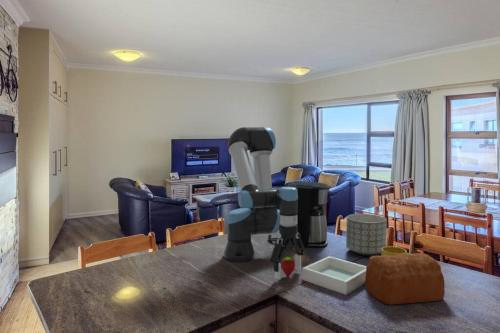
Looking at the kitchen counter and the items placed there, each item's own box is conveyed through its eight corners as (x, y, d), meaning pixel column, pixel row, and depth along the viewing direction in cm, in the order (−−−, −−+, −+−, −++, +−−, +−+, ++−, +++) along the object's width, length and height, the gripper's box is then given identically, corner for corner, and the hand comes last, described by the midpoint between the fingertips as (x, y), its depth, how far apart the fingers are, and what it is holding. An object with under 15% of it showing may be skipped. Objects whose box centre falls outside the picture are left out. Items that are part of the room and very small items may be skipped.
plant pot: (376, 267, 158) (377, 246, 157) (398, 266, 159) (399, 245, 158) (387, 276, 148) (388, 254, 147) (411, 275, 149) (411, 253, 148)
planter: (389, 251, 180) (390, 216, 179) (380, 262, 164) (382, 224, 163) (352, 245, 190) (352, 212, 189) (341, 255, 174) (341, 219, 173)
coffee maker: (335, 246, 188) (336, 184, 185) (277, 251, 181) (277, 186, 178) (318, 235, 210) (319, 179, 207) (266, 238, 203) (266, 181, 200)
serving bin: (302, 279, 145) (302, 268, 145) (329, 266, 159) (329, 256, 159) (346, 295, 131) (346, 282, 130) (370, 279, 145) (371, 267, 145)
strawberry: (294, 273, 152) (294, 251, 151) (296, 280, 144) (296, 257, 143) (280, 273, 152) (280, 251, 151) (281, 280, 144) (281, 257, 143)
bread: (448, 301, 126) (450, 261, 124) (385, 307, 122) (386, 265, 120) (418, 282, 142) (419, 246, 141) (362, 286, 138) (362, 250, 137)
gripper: (275, 232, 134) (275, 285, 136) (313, 220, 152) (312, 268, 154) (261, 228, 140) (261, 280, 141) (299, 218, 157) (298, 264, 159)
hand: (288, 274), depth 148 cm, fingers open, 13 cm apart
